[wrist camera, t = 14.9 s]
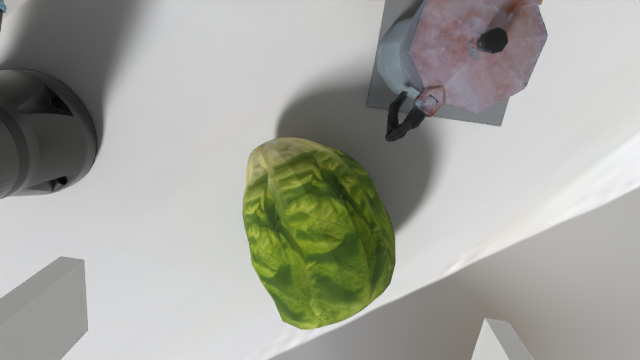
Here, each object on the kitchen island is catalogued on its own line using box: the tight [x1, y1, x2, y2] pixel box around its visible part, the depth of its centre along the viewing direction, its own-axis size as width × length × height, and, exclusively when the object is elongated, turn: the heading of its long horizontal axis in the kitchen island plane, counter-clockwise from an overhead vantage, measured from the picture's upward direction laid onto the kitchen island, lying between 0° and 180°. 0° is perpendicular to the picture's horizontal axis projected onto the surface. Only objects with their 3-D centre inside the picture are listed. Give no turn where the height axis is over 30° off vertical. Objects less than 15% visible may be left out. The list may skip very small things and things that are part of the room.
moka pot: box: [377, 0, 548, 142], centre depth 33 cm, size 10×15×20 cm, turn 146°
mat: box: [367, 0, 509, 126], centre depth 42 cm, size 16×12×1 cm
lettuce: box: [243, 137, 395, 329], centre depth 42 cm, size 16×21×15 cm
